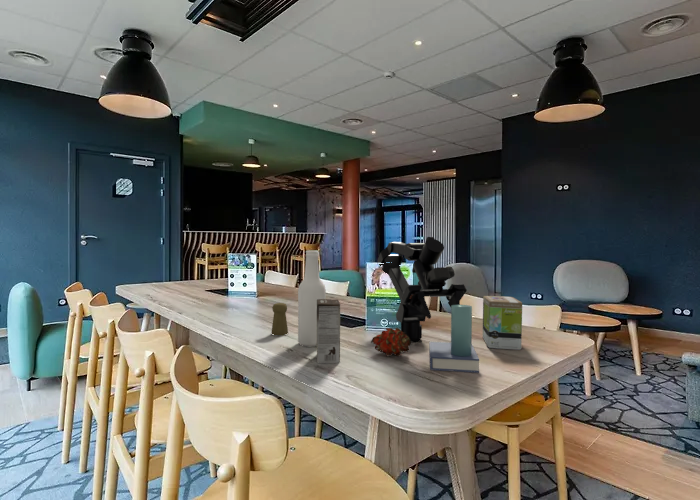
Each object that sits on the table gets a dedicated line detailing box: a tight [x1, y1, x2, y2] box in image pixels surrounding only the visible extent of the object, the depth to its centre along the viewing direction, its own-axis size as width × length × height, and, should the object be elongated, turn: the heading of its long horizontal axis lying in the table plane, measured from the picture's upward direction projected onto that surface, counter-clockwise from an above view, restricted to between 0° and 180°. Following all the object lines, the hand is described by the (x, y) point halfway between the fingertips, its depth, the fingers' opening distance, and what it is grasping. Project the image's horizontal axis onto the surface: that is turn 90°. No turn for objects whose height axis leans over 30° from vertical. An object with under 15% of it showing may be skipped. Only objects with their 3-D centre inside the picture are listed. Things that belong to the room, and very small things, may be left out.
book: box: [428, 341, 480, 374], centre depth 108 cm, size 12×16×3 cm
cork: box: [271, 302, 289, 335], centre depth 141 cm, size 6×6×11 cm
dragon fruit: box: [370, 327, 412, 357], centre depth 115 cm, size 8×8×12 cm
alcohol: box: [297, 249, 327, 347], centre depth 127 cm, size 9×9×30 cm
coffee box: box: [316, 298, 341, 364], centre depth 111 cm, size 9×6×16 cm
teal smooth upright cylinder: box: [450, 304, 473, 356], centre depth 104 cm, size 5×5×12 cm
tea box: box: [482, 295, 523, 350], centre depth 128 cm, size 15×10×15 cm
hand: (444, 317), depth 112 cm, fingers open, 9 cm apart
